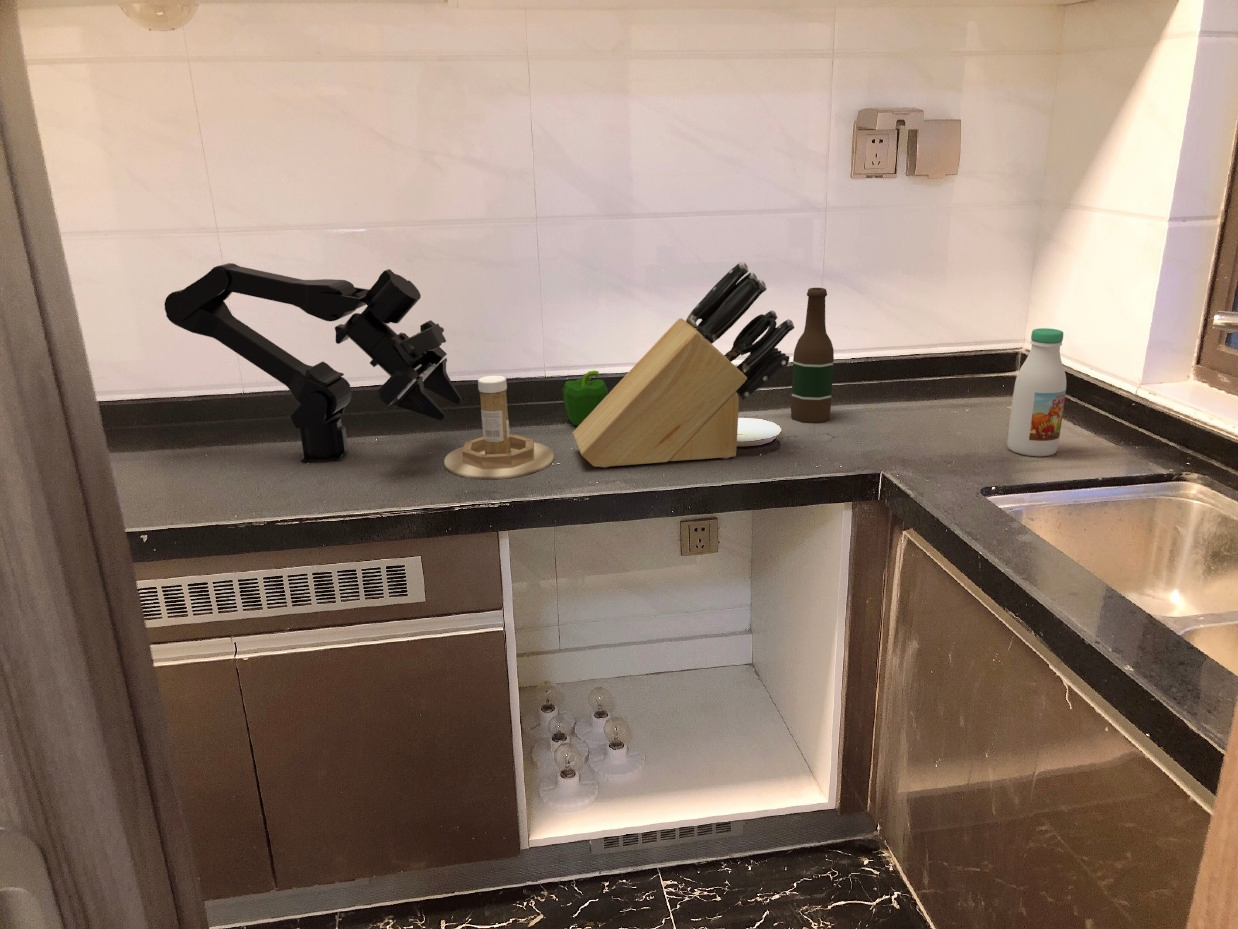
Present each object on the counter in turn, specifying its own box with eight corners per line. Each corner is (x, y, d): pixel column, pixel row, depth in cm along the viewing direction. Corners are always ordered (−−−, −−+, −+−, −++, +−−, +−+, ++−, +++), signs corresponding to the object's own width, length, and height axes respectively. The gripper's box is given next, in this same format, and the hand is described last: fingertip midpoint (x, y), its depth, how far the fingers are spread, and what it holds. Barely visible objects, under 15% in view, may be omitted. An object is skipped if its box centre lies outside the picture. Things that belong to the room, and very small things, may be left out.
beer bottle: (800, 409, 177) (806, 284, 169) (838, 415, 172) (846, 287, 164) (782, 419, 171) (787, 289, 163) (821, 426, 166) (828, 293, 158)
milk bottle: (1007, 455, 150) (1022, 334, 143) (1005, 440, 156) (1020, 324, 150) (1058, 459, 147) (1077, 336, 140) (1055, 445, 154) (1072, 326, 147)
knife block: (792, 455, 152) (801, 266, 141) (581, 472, 146) (574, 276, 136) (770, 435, 162) (776, 257, 152) (572, 450, 157) (565, 266, 146)
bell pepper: (556, 427, 169) (553, 374, 166) (573, 415, 176) (571, 364, 173) (598, 431, 166) (597, 378, 163) (614, 419, 173) (613, 367, 170)
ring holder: (438, 481, 143) (437, 465, 143) (450, 445, 160) (449, 431, 160) (553, 476, 144) (552, 461, 144) (553, 441, 161) (553, 427, 161)
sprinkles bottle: (517, 454, 153) (511, 376, 148) (501, 462, 149) (494, 382, 145) (494, 450, 155) (488, 373, 151) (478, 459, 151) (471, 379, 147)
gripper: (390, 319, 137) (467, 392, 139) (430, 298, 154) (498, 363, 157) (346, 369, 140) (422, 440, 143) (390, 343, 158) (456, 406, 160)
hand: (452, 410), depth 150 cm, fingers open, 9 cm apart
